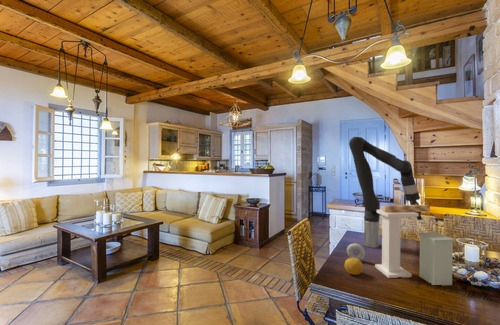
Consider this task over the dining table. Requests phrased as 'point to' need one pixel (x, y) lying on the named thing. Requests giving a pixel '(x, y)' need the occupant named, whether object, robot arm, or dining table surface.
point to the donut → (357, 247)
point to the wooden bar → (406, 208)
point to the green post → (436, 258)
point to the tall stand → (392, 244)
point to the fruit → (353, 266)
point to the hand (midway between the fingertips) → (418, 218)
